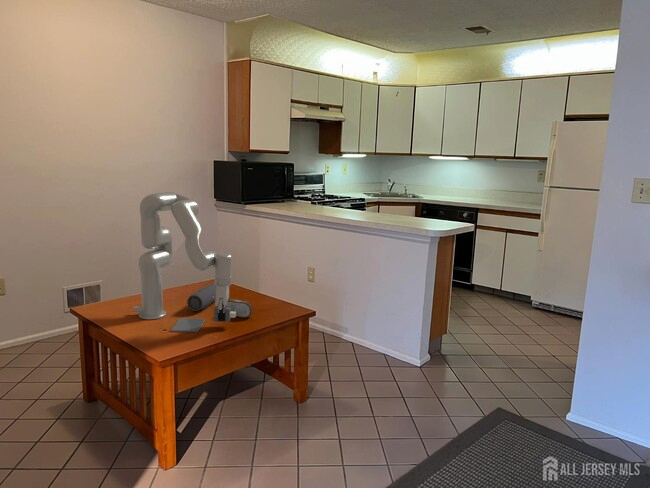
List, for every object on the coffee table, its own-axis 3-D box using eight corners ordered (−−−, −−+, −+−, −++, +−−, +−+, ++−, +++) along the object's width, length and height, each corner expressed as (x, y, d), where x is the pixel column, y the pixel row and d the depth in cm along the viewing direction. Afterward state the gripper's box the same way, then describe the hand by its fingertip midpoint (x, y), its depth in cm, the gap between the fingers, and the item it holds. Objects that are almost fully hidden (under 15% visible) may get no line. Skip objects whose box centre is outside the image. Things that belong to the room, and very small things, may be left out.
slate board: (170, 331, 213) (170, 330, 213) (179, 319, 229) (179, 318, 229) (197, 332, 214) (197, 331, 214) (204, 320, 230) (204, 318, 230)
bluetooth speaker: (203, 314, 238) (203, 295, 236) (186, 312, 240) (185, 293, 238) (222, 301, 260) (222, 283, 258) (206, 299, 261) (206, 281, 260)
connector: (213, 321, 219) (214, 308, 218) (215, 318, 223) (215, 306, 222) (234, 322, 220) (235, 309, 219) (235, 319, 224) (236, 307, 223)
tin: (253, 317, 237) (254, 301, 235) (251, 319, 234) (251, 302, 232) (225, 313, 240) (226, 297, 239) (222, 315, 237) (223, 299, 236)
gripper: (218, 275, 226) (217, 312, 229) (211, 285, 210) (210, 325, 213) (234, 276, 226) (233, 313, 230) (228, 286, 210) (227, 325, 213)
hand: (222, 318), depth 221 cm, fingers closed on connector, 3 cm apart
